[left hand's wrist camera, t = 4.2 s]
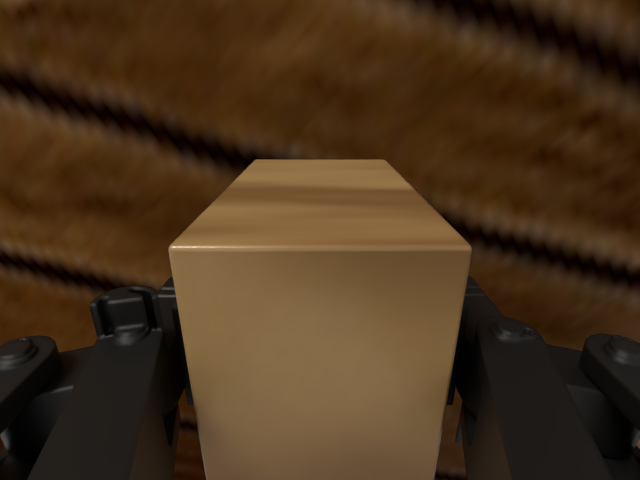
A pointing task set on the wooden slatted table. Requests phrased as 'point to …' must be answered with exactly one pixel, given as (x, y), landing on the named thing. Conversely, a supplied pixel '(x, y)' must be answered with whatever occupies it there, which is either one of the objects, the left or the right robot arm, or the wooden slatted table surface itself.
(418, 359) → the bar
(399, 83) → the wooden slatted table surface
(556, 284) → the wooden slatted table surface
